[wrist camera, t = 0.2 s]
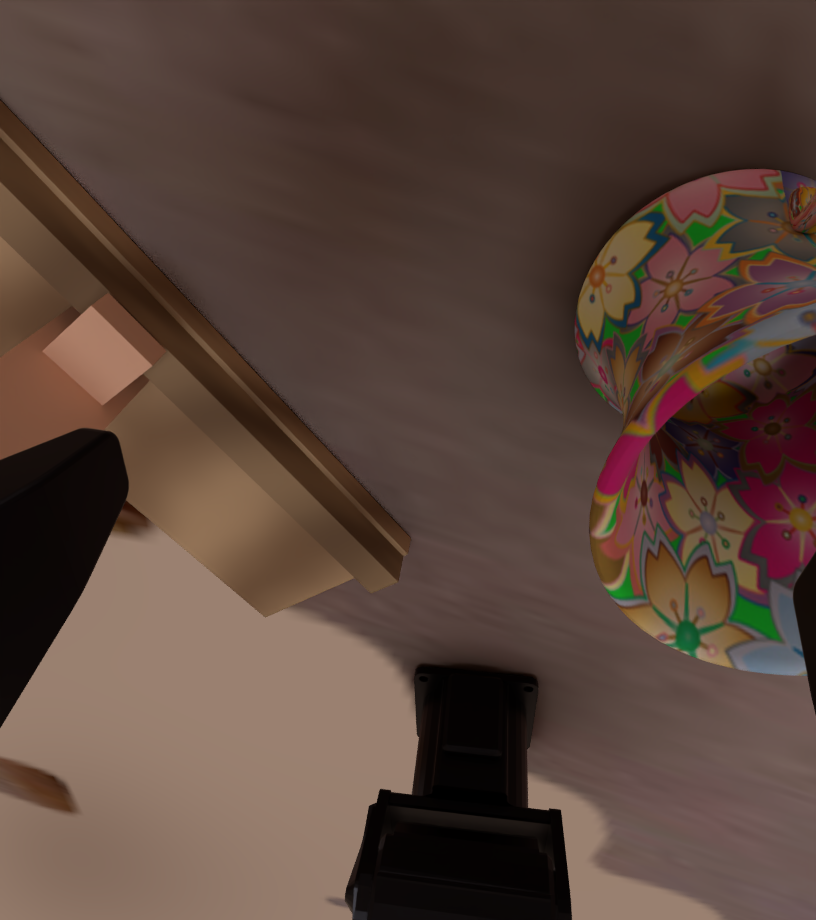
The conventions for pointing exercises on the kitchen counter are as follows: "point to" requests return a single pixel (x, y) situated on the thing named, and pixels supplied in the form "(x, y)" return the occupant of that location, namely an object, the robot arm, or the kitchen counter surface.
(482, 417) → the kitchen counter surface
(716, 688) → the kitchen counter surface
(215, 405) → the trammel board
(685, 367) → the mug
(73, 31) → the kitchen counter surface
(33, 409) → the block
